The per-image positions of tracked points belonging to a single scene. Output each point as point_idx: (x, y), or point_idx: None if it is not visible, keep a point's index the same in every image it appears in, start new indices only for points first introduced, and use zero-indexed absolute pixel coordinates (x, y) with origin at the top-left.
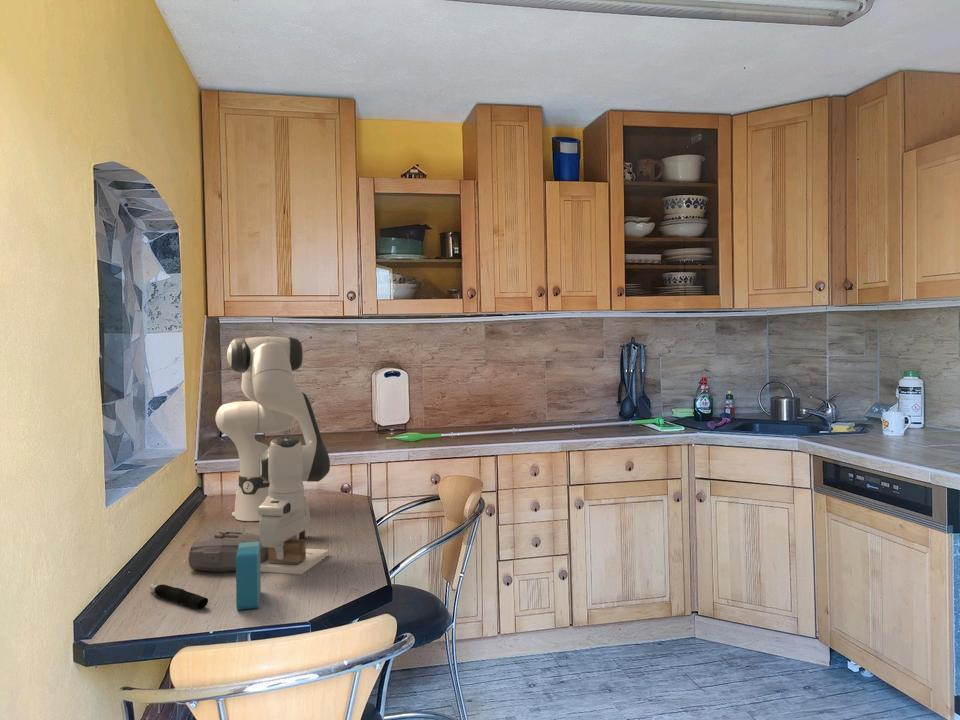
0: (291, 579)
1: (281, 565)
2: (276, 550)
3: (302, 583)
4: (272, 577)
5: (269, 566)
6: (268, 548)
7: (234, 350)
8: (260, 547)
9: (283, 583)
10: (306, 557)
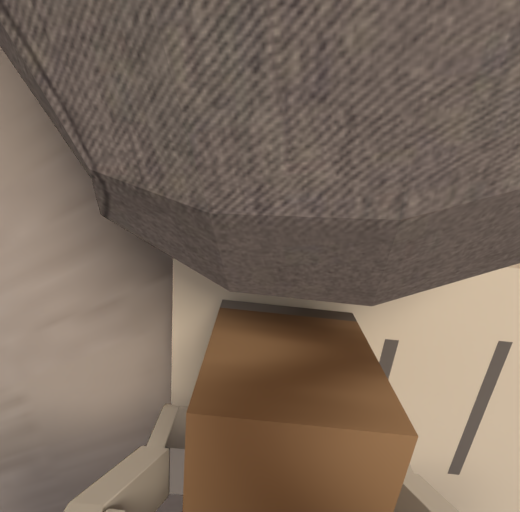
0: (102, 441)
1: None
2: (122, 470)
3: (66, 494)
4: (105, 349)
5: (172, 321)
6: (200, 368)
7: None
8: (214, 276)
9: (40, 426)
10: None
